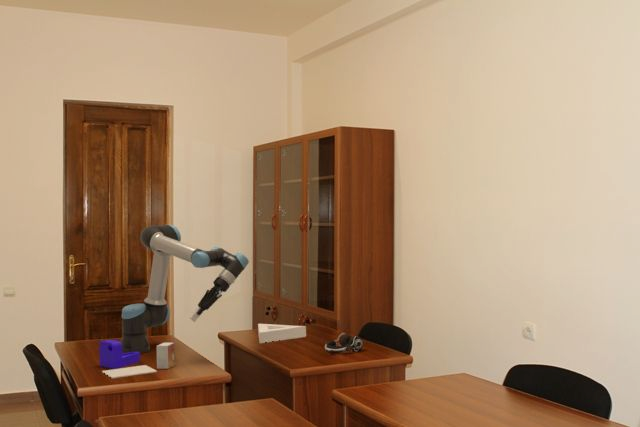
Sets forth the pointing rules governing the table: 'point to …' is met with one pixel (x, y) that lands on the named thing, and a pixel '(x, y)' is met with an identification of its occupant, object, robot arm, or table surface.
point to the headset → (345, 344)
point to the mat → (129, 371)
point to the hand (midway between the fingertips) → (192, 319)
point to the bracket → (116, 355)
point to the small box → (165, 355)
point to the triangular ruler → (279, 332)
